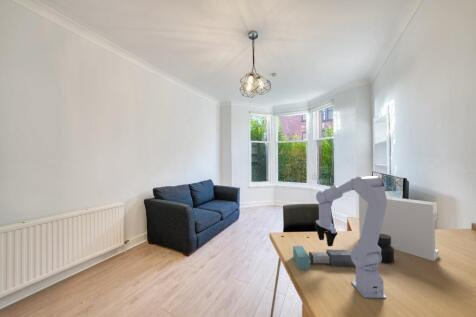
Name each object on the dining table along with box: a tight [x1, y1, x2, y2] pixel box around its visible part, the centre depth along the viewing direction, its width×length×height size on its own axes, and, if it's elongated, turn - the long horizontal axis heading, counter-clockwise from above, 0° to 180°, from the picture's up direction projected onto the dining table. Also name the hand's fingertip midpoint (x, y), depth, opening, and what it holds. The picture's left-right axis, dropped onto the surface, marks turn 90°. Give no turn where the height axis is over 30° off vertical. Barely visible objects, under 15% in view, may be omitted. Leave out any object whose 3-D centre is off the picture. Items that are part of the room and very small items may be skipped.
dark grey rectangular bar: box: [326, 249, 355, 268], centre depth 97 cm, size 6×14×6 cm, turn 87°
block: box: [358, 194, 440, 262], centre depth 116 cm, size 35×8×28 cm, turn 33°
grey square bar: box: [308, 251, 330, 264], centre depth 97 cm, size 4×18×4 cm, turn 87°
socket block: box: [292, 245, 311, 271], centre depth 98 cm, size 12×5×6 cm, turn 177°
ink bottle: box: [377, 234, 395, 264], centre depth 100 cm, size 10×9×12 cm
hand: (325, 242), depth 99 cm, fingers open, 7 cm apart
